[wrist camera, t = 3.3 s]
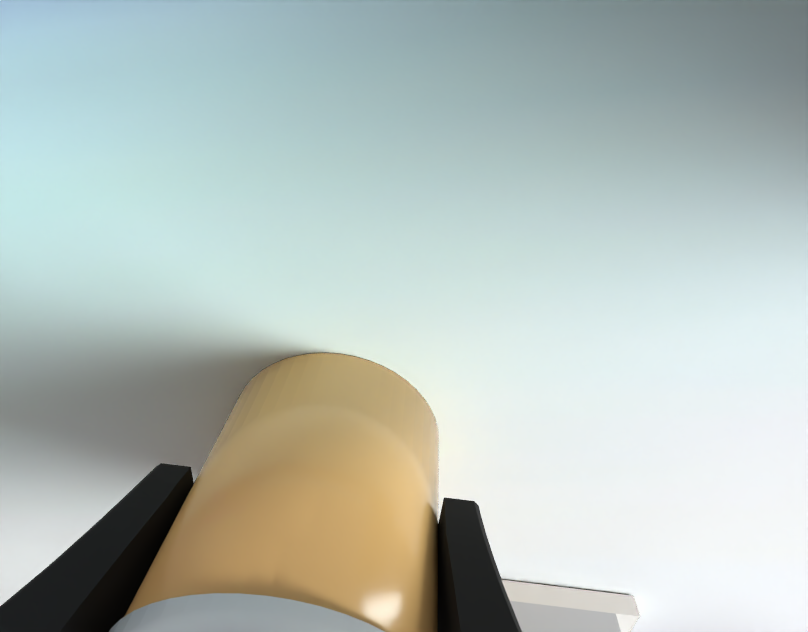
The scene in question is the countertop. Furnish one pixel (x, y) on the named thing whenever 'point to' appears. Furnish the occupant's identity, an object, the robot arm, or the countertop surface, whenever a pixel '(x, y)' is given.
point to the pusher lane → (570, 609)
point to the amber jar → (306, 511)
